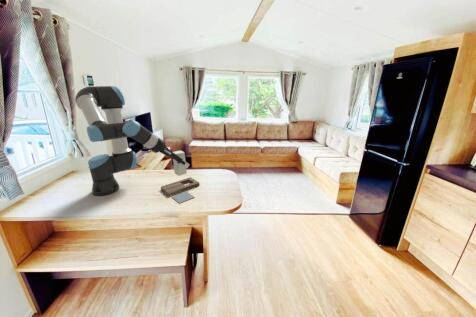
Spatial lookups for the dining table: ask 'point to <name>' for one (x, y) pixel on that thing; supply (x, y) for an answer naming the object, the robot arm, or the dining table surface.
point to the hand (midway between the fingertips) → (185, 164)
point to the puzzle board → (179, 186)
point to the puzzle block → (179, 168)
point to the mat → (183, 197)
